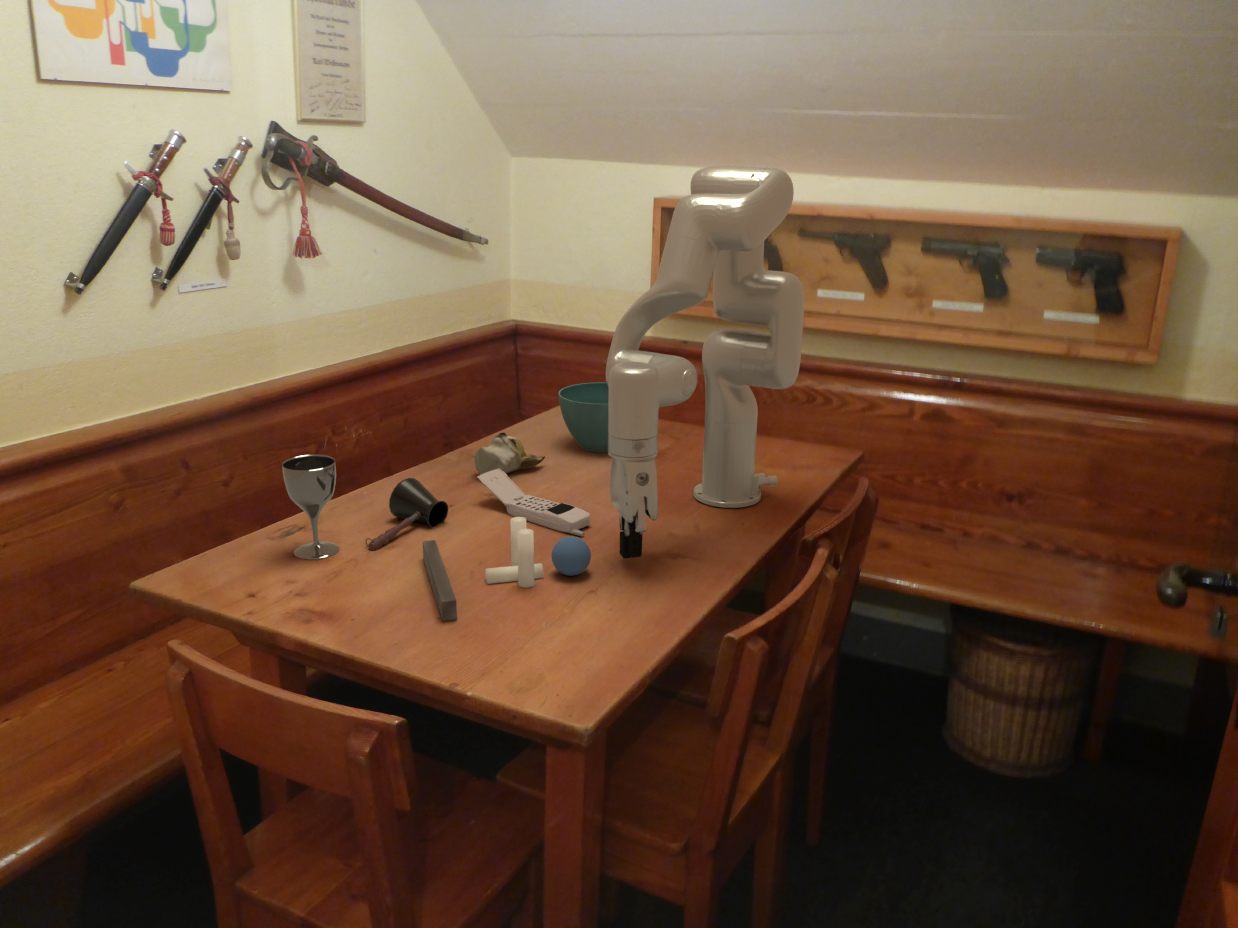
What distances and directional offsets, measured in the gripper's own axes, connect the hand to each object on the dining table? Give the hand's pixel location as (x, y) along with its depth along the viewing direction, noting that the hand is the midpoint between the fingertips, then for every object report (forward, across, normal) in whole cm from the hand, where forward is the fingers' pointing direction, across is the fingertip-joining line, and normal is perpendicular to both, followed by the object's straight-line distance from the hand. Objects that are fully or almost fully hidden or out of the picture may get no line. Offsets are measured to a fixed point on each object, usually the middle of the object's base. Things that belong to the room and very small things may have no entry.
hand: (630, 555), depth 154 cm
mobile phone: (+2, +24, +10) cm, 26 cm away
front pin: (+1, 0, +14) cm, 14 cm away
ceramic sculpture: (+2, +49, +10) cm, 50 cm away
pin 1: (+2, +2, +17) cm, 18 cm away
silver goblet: (+2, +19, +47) cm, 51 cm away
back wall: (+2, 0, +30) cm, 30 cm away
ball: (-2, -1, +10) cm, 10 cm away
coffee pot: (+2, +24, +34) cm, 41 cm away
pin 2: (+2, -2, +17) cm, 18 cm away
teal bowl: (+2, +60, -13) cm, 61 cm away
